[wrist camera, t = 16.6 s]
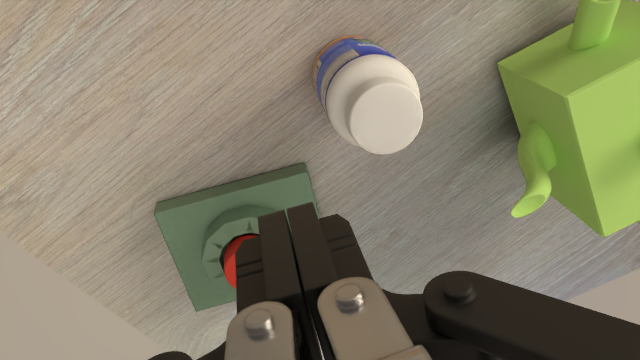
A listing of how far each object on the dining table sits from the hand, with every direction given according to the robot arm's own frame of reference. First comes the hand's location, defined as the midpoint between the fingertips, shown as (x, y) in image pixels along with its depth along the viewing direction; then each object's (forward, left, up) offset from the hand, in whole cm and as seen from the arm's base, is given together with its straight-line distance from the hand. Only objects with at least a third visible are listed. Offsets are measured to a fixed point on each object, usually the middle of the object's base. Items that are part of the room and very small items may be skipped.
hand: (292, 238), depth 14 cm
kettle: (+21, -9, -23) cm, 33 cm away
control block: (-4, -13, -23) cm, 27 cm away
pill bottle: (+6, -3, -23) cm, 24 cm away
